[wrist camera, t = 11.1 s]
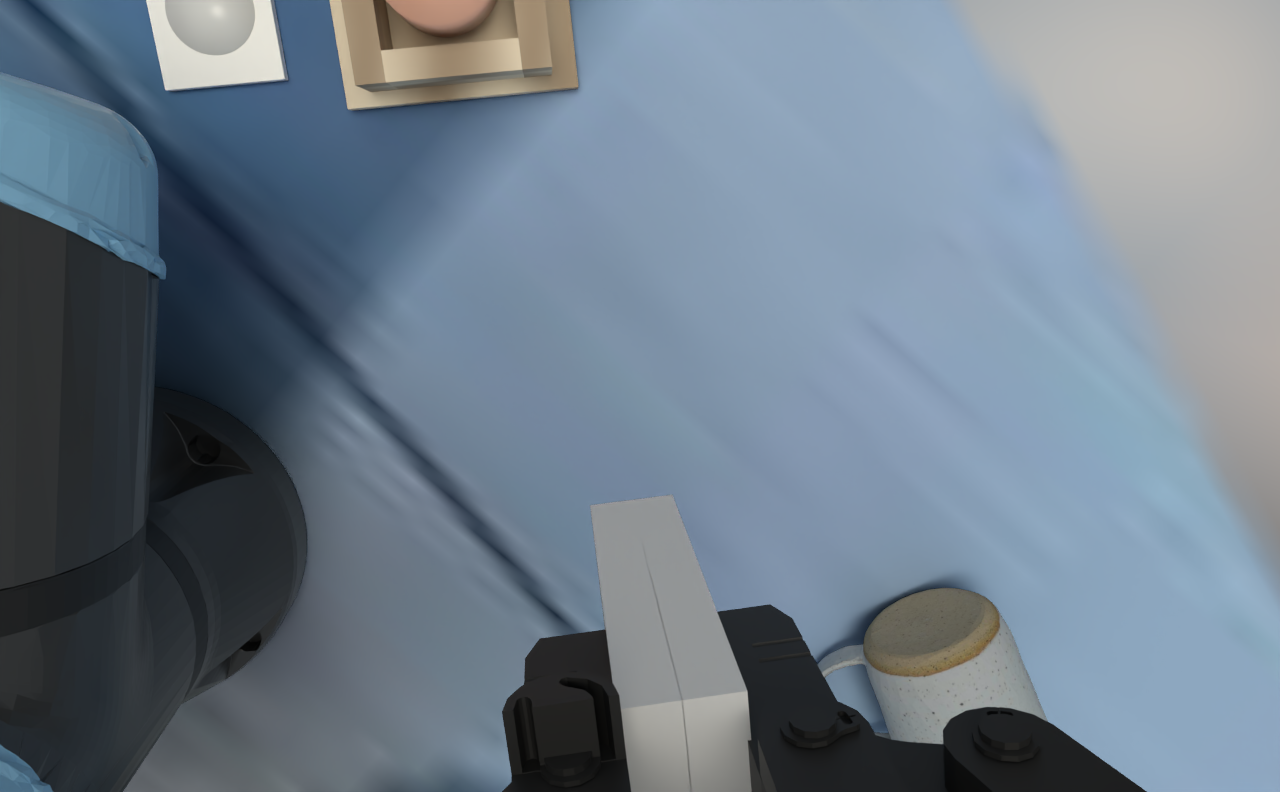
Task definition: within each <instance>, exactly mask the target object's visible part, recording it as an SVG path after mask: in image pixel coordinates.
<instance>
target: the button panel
mask: <svg viewBox="0 0 1280 792" xmlns="http://www.w3.org/2000/svg"><path fill="white" fill-rule="evenodd" d="M330 6H331V12H332V18H333V24H334V30H335V36H336V42H337V48H338V54H339V60H340V66H341V71H342V77H343V83H344V89H345V95H346V101H347V107H348V109H349V110H352V111H353V110H364V109H374V108H385V107H395V106H405V105H416V104H426V103H436V102H447V101H457V100H468V99H478V98H488V97H499V96H509V95H520V94H530V93H540V92H551V91H561V90H571V89H578V78H577V69H576V60H575V51H574V42H573V33H572V24H571V15H570V5H569V0H497V2H496V4H495V6H494V8H493V10H492V12H491V13H490V15H489V16H488V17H487V18H486V19H485V21H484V22H482V23H481V24H480V25H479V26H478V27H476V28H475V29H473V30H472V31H469V32H467V33H465V34H462V35H459V36H453V37H440V36H434V35H430V34H427V33H424V32H422V31H420V30H418V29H416V28H414V27H413V26H412V25H410V24H409V23H407V22H406V21H405V20H404V19H403V18H402V17H401V16H400V15H399V14H398V13H397V12H396V11H395V10H394V9H393V8H392V7H391V5H390V4H389V3H388V2H387V1H386V0H330Z"/></svg>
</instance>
